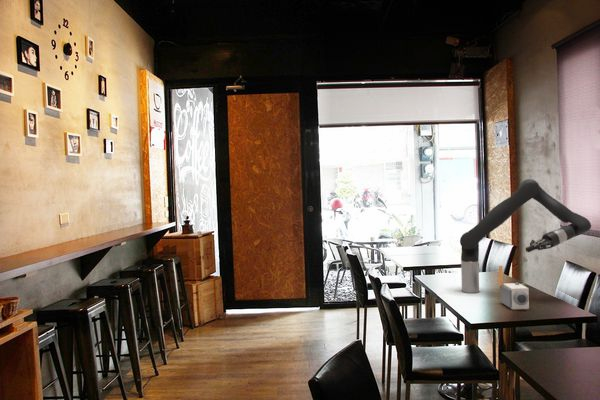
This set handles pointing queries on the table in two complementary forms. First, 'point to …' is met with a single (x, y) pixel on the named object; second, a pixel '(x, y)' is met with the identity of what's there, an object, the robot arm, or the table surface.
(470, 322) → the table surface
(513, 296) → the camera body
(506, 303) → the side door
